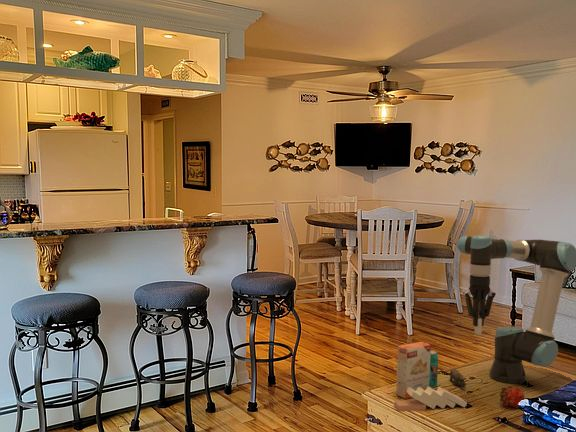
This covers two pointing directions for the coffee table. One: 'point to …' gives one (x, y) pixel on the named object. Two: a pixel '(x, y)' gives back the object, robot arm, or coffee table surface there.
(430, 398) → the domino
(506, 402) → the dragon fruit
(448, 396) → the domino
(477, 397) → the coffee table surface
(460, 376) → the rhino figurine
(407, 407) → the domino
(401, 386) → the cracker box
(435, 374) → the beverage can
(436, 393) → the domino
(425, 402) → the domino
